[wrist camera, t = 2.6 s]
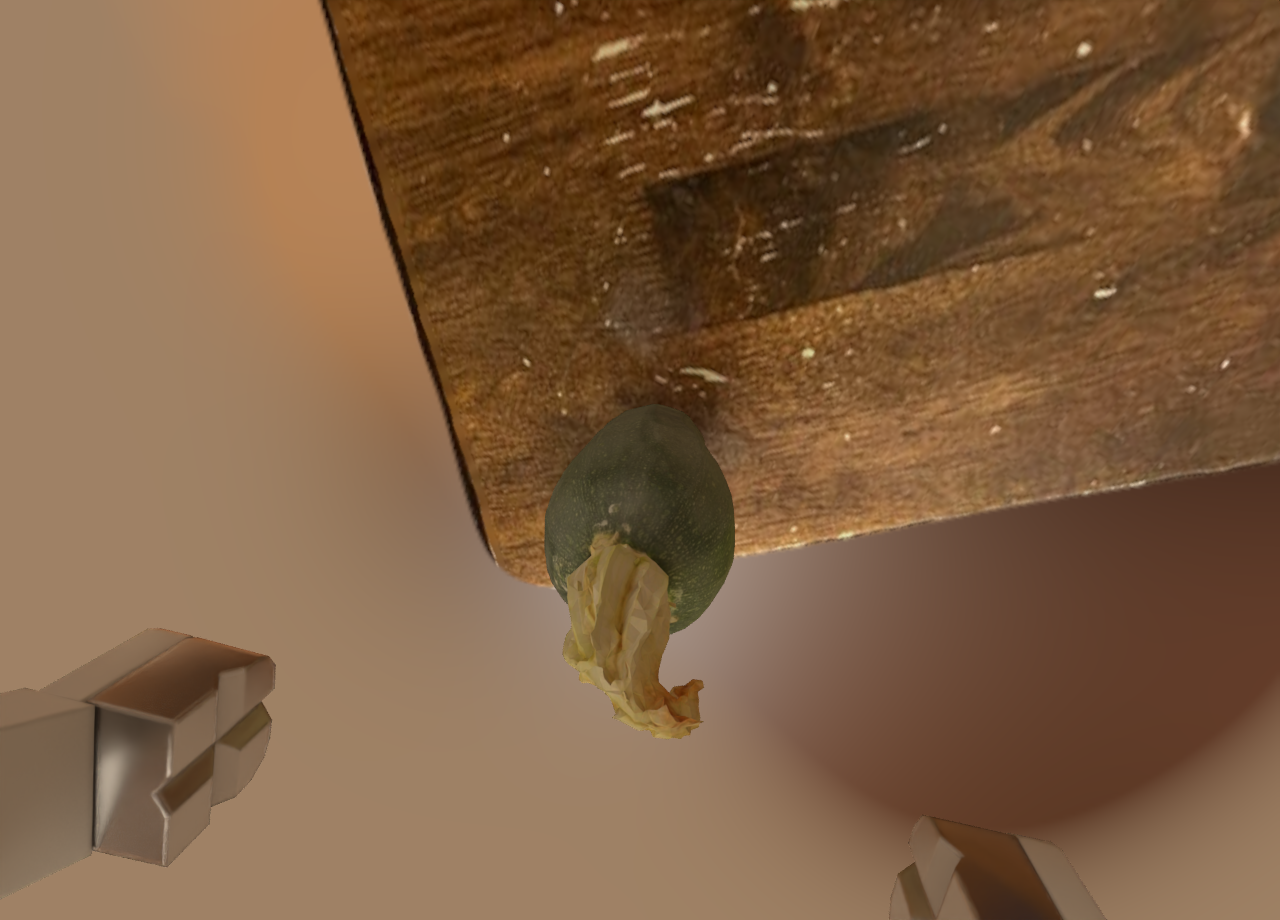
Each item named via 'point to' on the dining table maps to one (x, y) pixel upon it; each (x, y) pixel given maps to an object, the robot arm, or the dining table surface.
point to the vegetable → (639, 558)
